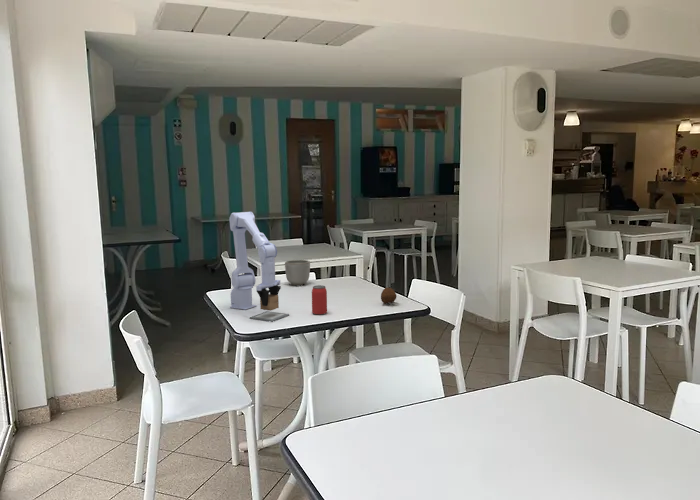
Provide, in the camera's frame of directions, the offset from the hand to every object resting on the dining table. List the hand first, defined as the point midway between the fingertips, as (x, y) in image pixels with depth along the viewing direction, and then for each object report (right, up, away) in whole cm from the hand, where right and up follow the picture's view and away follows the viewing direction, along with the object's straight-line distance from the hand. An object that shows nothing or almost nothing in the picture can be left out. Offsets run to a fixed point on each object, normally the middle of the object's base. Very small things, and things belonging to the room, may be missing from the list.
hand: (269, 304), depth 235 cm
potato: (+53, -2, +22) cm, 57 cm away
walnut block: (0, -2, 0) cm, 2 cm away
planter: (+6, +4, +70) cm, 70 cm away
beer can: (+21, -5, +6) cm, 23 cm away
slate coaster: (0, -6, +1) cm, 6 cm away
